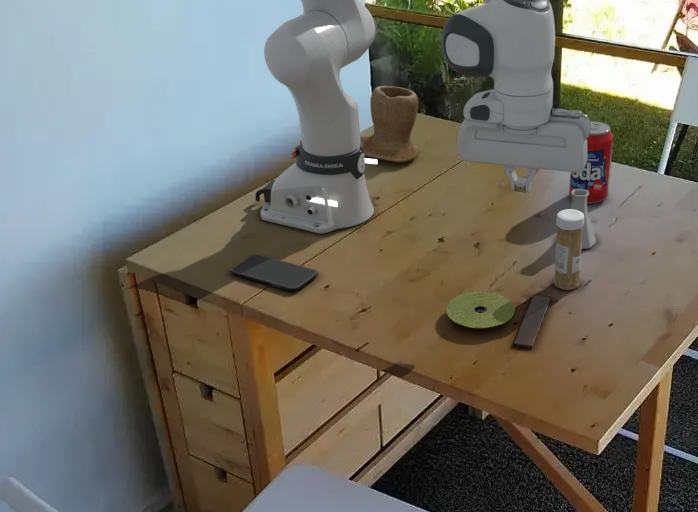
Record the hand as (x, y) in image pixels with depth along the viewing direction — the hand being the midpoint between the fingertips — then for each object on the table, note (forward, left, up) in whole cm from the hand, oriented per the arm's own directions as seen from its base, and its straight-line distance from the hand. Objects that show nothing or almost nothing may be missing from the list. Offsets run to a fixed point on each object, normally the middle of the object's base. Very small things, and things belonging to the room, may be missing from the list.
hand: (521, 190), depth 149 cm
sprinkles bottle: (+7, +5, -19) cm, 21 cm away
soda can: (+5, +40, -19) cm, 45 cm away
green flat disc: (-4, -9, -19) cm, 22 cm away
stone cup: (-42, +51, -19) cm, 69 cm away
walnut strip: (+4, -8, -19) cm, 21 cm away
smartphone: (-43, -5, -19) cm, 48 cm away
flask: (+6, +21, -19) cm, 29 cm away
